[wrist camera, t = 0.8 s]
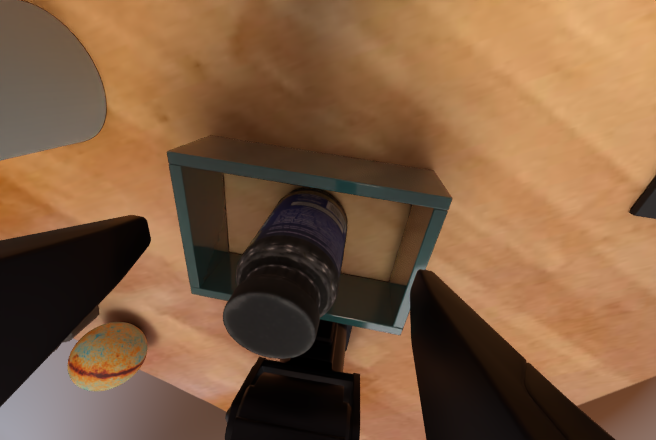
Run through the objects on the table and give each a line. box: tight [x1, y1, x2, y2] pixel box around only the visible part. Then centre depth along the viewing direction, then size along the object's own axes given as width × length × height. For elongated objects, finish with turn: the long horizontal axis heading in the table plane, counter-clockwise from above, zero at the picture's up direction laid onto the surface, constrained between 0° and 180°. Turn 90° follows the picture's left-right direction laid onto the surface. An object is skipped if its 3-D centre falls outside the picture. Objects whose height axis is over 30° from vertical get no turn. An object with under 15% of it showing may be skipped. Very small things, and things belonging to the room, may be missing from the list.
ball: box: [68, 322, 147, 391], centre depth 31 cm, size 7×7×7 cm
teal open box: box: [167, 135, 452, 335], centre depth 20 cm, size 12×17×5 cm
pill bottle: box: [223, 188, 347, 359], centre depth 18 cm, size 6×6×11 cm
